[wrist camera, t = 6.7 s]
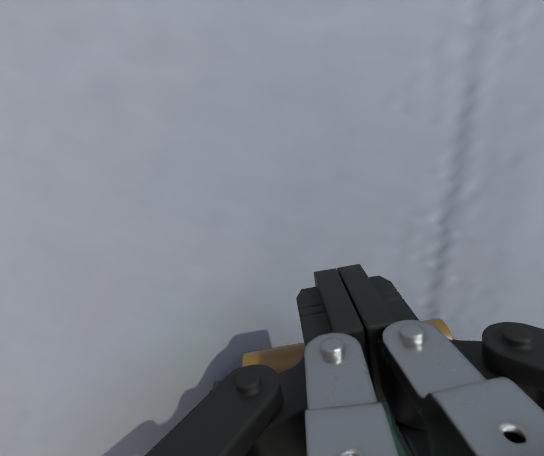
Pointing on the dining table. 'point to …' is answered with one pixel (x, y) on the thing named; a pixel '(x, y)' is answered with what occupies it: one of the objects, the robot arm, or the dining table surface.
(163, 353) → the dining table surface
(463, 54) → the dining table surface
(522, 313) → the dining table surface
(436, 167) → the dining table surface
